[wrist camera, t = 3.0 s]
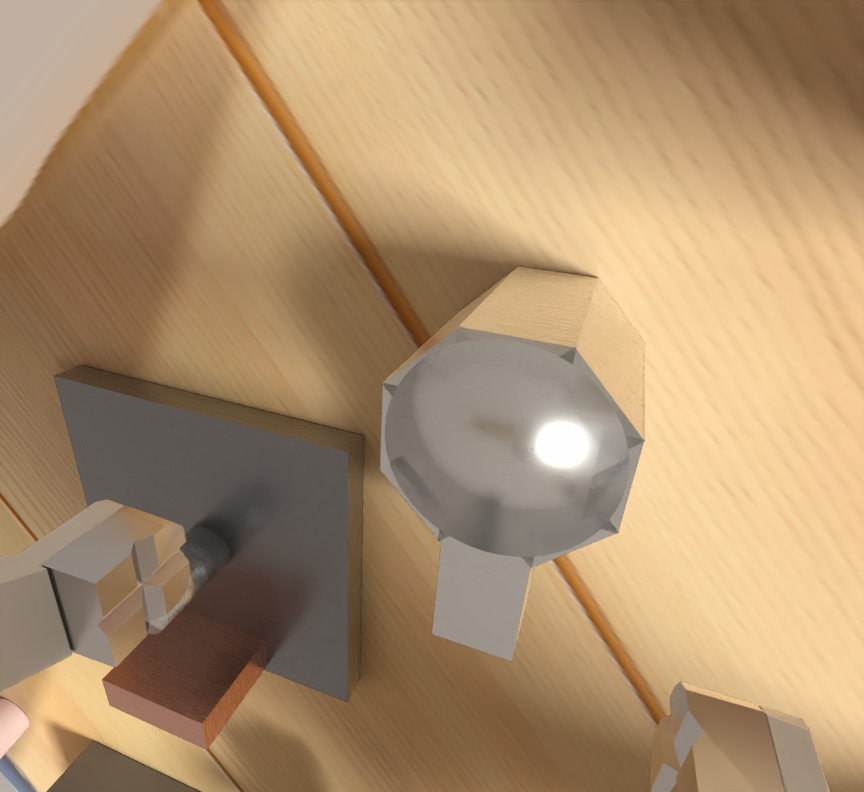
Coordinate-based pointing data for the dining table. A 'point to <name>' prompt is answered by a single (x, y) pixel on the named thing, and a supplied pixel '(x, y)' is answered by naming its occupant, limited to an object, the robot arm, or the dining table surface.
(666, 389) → the dining table surface
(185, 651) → the grey square stand
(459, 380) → the octagonal handled mug
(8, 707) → the smoothie
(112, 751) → the parts corral
